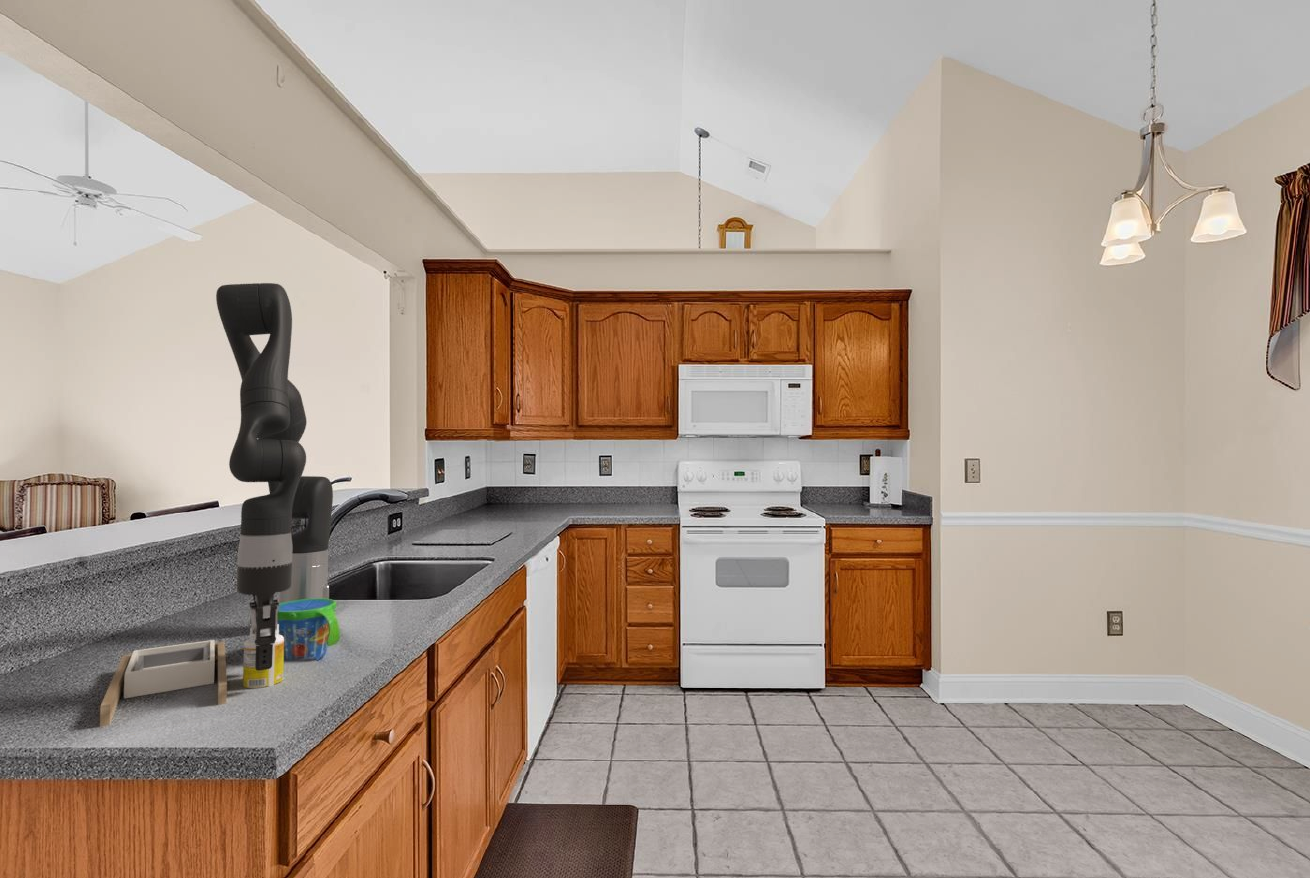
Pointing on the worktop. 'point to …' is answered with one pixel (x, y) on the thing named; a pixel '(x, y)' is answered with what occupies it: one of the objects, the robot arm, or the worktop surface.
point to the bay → (118, 679)
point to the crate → (170, 668)
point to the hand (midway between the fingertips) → (261, 661)
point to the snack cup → (308, 627)
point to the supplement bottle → (267, 676)
